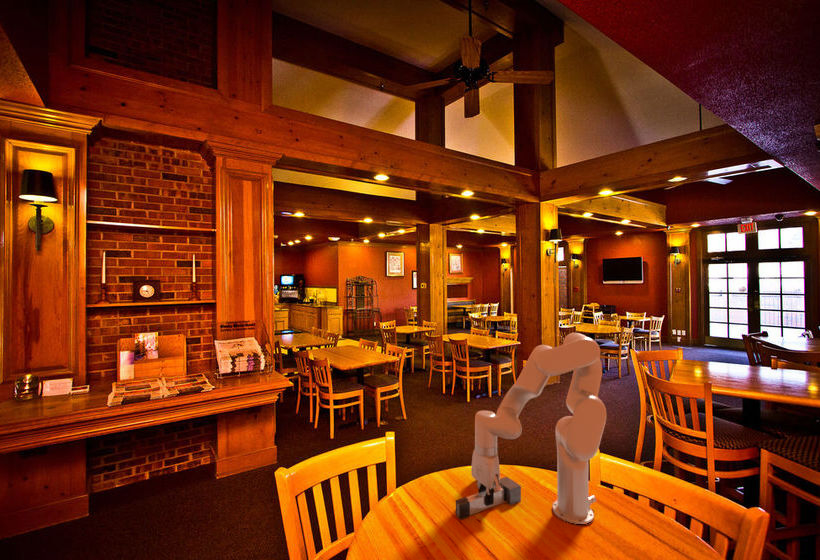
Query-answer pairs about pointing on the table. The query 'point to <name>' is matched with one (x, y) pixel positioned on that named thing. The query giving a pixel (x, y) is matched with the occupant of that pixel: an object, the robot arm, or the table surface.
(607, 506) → the table surface
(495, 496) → the tong arm
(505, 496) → the tong base
